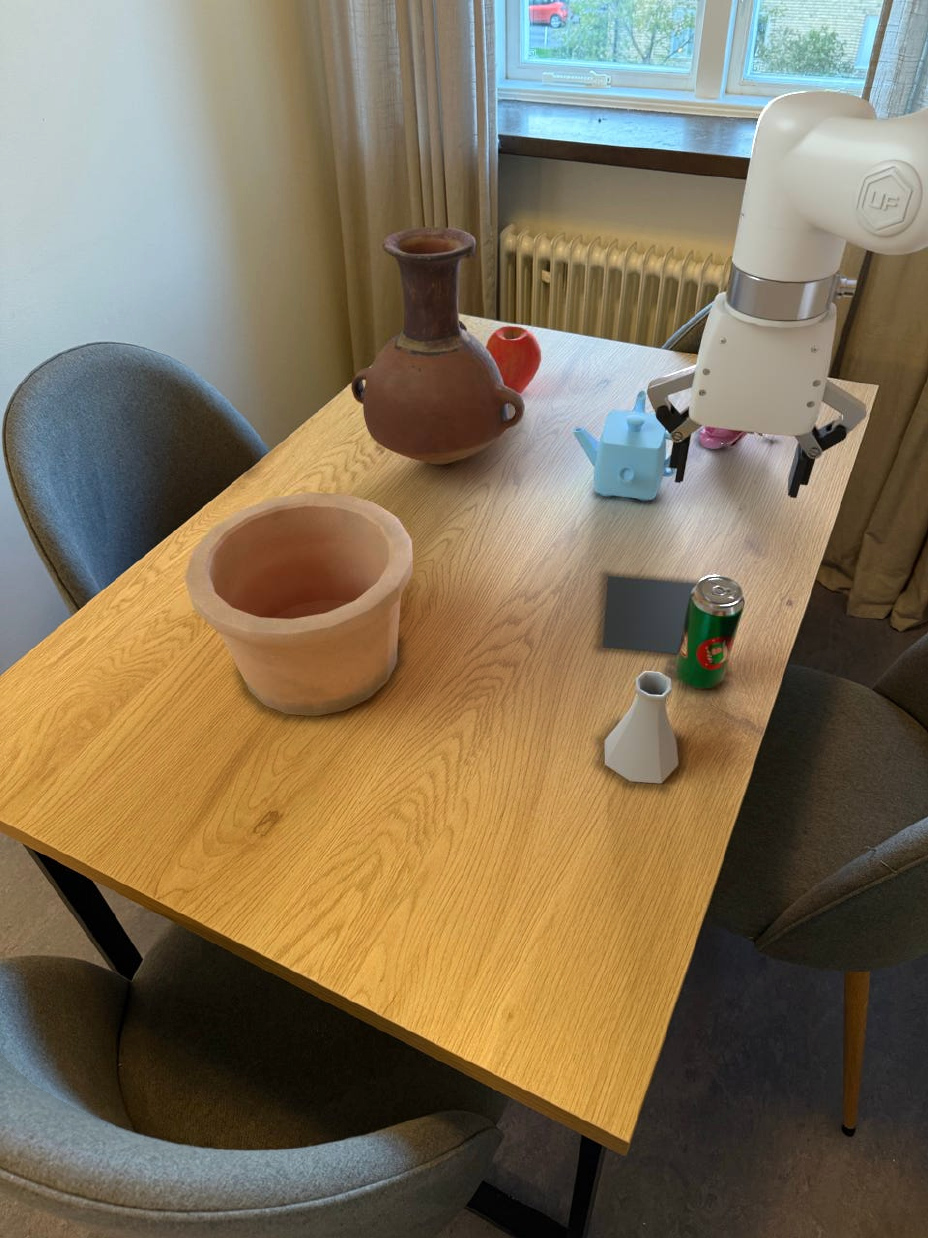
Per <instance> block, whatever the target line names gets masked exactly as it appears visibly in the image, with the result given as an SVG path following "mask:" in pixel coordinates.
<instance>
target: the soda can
mask: <svg viewBox="0 0 928 1238" xmlns="http://www.w3.org/2000/svg"><path fill="white" fill-rule="evenodd" d="M696 584H697V585H696V586H695V587H694V588H693V589H692V591H691V594H690V598H689V603H688V607H687V612H686V616H685V621H684V626H683V630H682V635H681V639H680V644H679V649H678V653H677V654H676V659H675V663H674V671H675V674H676V676H677V677H678V678H679V679H680V681H681V682H683V683H684V684H685V685H687V686H688V687H691V688H694V689H700V690H705V689H711V688H715V687H716V686H718V685H720V684H721V683H722V682H723V680H724V679H725V674H726V671H727V668H728V664H729V661H730V657H731V654H732V651H733V647H734V644H735V640H736V636H737V632H738V629H739V626H740V623H741V619H742V616H743V611H744V608H745V604H746V600H745V597H744V593H743V592H744V591H743V588H742V587H741V585H740V584H739V583H738V582H737V581H735V580H734V579H733V578H730V577H727V576H723V575H717V574H713V575H707V576H705V577H702V578H701V579H699V581H697V583H696Z"/></svg>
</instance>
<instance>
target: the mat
mask: <svg viewBox="0 0 928 1238" xmlns="http://www.w3.org/2000/svg"><path fill="white" fill-rule="evenodd" d="M696 585H697V583H696V582H695V583H693V582H682V581H673V580H671V581H670V580H659V579H649V578H648V579H647V578H635V577H625V576H615V575H614V576H613V575H607V583H606V597H605V610H604V611H605V612H604V626H603V636H602V637H603V638H602V648H607V649H616V650H617V649H618V650H628V651H637V652H647V653H648V652H650V653H658V654H667V655H677V653H678V649H679V644H680V639H681V635H682V630H683V626H684V621H685V616H686V612H687V607H688V603H689V598H690V594H691V591H692V589H693V588H694V587H695V586H696Z"/></svg>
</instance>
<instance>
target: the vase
mask: <svg viewBox="0 0 928 1238" xmlns="http://www.w3.org/2000/svg"><path fill="white" fill-rule="evenodd" d="M476 244H477V243H476V238H475V236H474V235H471V233H469V232H466V231H464V230H460V229H457V228H449V227H446V228H445V227H441V226H425V227H424V226H423V227H418V228H411V229H406V230H401V231H397V232H395V233H393V234H390V235H388V236H387V237H385V238H384V239H383V241H382V246H381V247H382V249H383V251H384V252H385V253H386V254H388V255H389V256H392V257H394V258H395V259H396V261H397V264H398V267H399V272H400V279H401V287H402V296H403V297H402V298H403V328H402V331H401V332H400V333H397V335H396V336H394V337H392V339H390V340H389V341H388V342H387V343H386V344H385V345H384V346H383V347H382V349H381V350H380V352H379V353H378V354H377V356H376V357H375V359H374V360H373V362H372V364H371V366H370V367H365V368H362V369H361V370H360V371H358V373H357V374H355V376H354V377H353V378H352V380H351V385H350V388H351V392H352V395H353V398H354V399H355V400H356V402H357V403H360V404H362V409H363V417H364V422H365V426H366V428H367V431H368V433H369V435H370V436H371V438H372V439H373V440H374V441H375V442H376V443H377V444H379V445H380V446H382V447H383V448H385V449H387V450H389V451H390V452H394V453H396V454H398V455H401V456H403V457H406V458H409V459H411V460H414V461H418V462H422V463H427V464H431V465H437V466H445V465H449V464H452V463H453V462H454V463H455V462H456V461H459V460H464V459H466V458H469V457H470V456H473V455H475V454H477V453H480V452H481V451H482V450H484V449H486V448H488V447H489V446H490V445H492V444H493V443H494V442H495V441H496V440H497V439H498V438H499V437H500V436H502V435H503V434H504V433H505V432H506V431H507V430H508V429H510V428H512V427H514V426H516V425H517V424H518V423H520V422H521V419H522V418H523V416H524V414H525V413H524V412H525V403H524V399H523V398H522V396H521V394H518V393H517V392H516V391H514V390H513V389H511V388H508V387H506V386H504V383H503V379H502V377H501V374H500V372H499V369H498V367H497V365H496V363H495V360H494V359H493V357H492V355H491V354H490V353H489V351H488V350H487V349H486V347H485V345H484V344H483V343H482V342H481V341H480V340H479V339H478V338H477V337H476V336H474V335H473V334H471V333H470V332H468V328H467V326H466V324H464V322H463V321H461V320H460V315H459V286H460V284H459V283H460V279H459V278H460V266H461V261H462V260H465V259H467V260H472V259H473V258H474V256H475V251H476ZM363 381H364V382H365V383H364V382H363ZM508 405H510V406H512V407H513V408H514V409H513V410H514V414H513V415H512V416H510V415H509V406H508Z"/></svg>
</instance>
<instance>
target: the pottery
mask: <svg viewBox="0 0 928 1238" xmlns="http://www.w3.org/2000/svg"><path fill="white" fill-rule="evenodd" d="M412 541H413V540H412V538H411V537H410V535H409V533H408V532H407V530H406V529H405V527H404V526H403V524H402V522H401V521H400V519H399V517H397V516H396V515H394V514H392V513H391V512H390V511H388V510H386V509H385V508H384V507H382V506H381V505H379V504H377V503H376V502H373V501H370V500H367V499H363V498H359V497H356V496H353V495H349V494H346V493H332V492H331V493H329V492H304V493H303V492H302V493H296V494H290V495H289V494H288V495H284V496H277V497H272V498H270V499H267V500H265V501H261V502H258V503H256V504H253V505H250V506H246V507H244V508H242V509H239V510H238V511H236V512H234V513H233V514H232V515H230V516H228V517H227V518H225V519H224V520H222V521H221V522H219V523H217V524H216V525H215V526H213V527H211V528H210V529H209V530H208V531H207V533H206V534H205V535H204V537H203V538H201V540H200V541H199V542H198V544H196V545H195V547H194V548H193V549H192V550H191V554H190V557H189V561H188V564H187V568H186V571H185V574H184V580H185V584H186V587H187V591H188V594H189V598H190V602H191V605H192V607H193V610H194V612H195V613H196V614H197V615H198V616H199V617H200V618H202V620H204V621H205V623H206V624H208V625H209V626H210V627H211V628H212V629H213V630H214V631H215V632H216V633H218V634H219V636H220V637H221V639H222V641H223V643H224V645H225V647H226V649H227V651H228V652H229V654H230V656H231V658H232V660H233V662H234V664H235V665H236V667H237V669H238V671H239V673H240V675H241V677H242V678H243V680H244V682H245V684H246V686H247V689H248V691H249V692H250V693H251V694H252V695H254V697H255V698H256V699H257V700H258V701H259V702H261V703H262V705H264V706H266V707H268V708H271V709H274V710H275V711H278V712H281V713H284V714H286V715H293V716H295V715H296V716H308V717H318V716H323V715H327V714H328V715H329V714H333V713H339V712H344V711H346V710H348V709H350V708H352V707H354V706H356V705H358V704H360V703H363V702H364V701H367V700H368V699H370V698H371V697H373V696H374V695H375V694H376V693H377V692H378V691H379V690H380V689H381V688H382V687H383V686H385V684H386V683H388V682H389V679H390V677H391V675H392V673H393V671H394V670H395V667H396V665H397V663H398V644H399V643H398V641H399V628H400V615H401V613H400V612H401V601H402V600H401V599H402V595H403V593H404V591H405V589H406V586H407V585H408V583H409V582H410V581H411V578H412V576H413V574H414V568H413V567H414V566H413V565H414V564H413V561H414V560H413V542H412Z"/></svg>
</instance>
